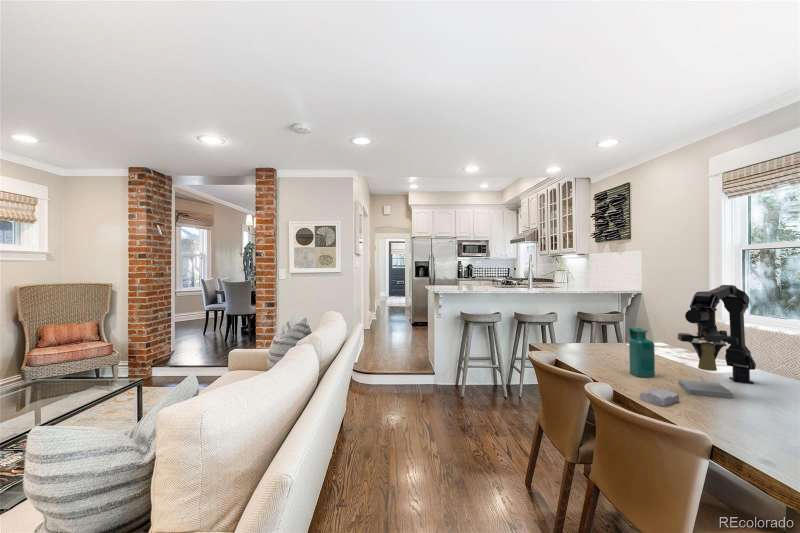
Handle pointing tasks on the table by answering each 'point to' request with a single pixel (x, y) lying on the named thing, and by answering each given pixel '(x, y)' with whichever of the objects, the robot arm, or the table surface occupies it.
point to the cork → (707, 357)
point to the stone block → (659, 397)
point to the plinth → (705, 388)
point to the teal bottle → (641, 354)
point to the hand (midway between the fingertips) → (707, 359)
